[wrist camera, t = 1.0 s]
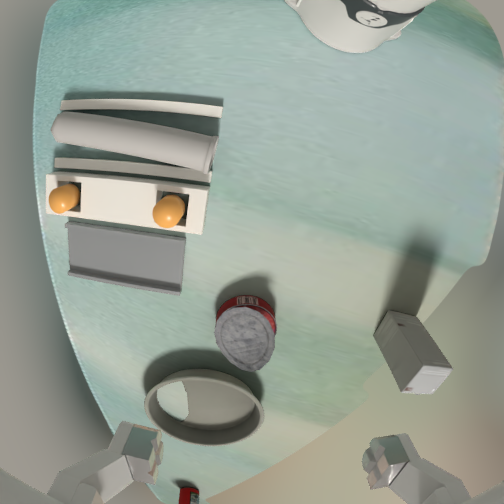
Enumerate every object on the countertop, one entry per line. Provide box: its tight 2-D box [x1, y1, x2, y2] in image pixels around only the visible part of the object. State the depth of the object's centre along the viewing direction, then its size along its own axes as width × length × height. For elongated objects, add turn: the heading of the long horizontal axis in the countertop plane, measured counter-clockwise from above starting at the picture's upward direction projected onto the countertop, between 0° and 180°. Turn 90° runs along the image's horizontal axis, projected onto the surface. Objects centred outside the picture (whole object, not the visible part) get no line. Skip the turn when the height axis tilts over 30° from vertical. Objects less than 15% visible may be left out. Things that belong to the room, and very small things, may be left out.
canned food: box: [214, 295, 277, 372], centre depth 46 cm, size 11×10×10 cm
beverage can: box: [179, 487, 199, 504], centre depth 70 cm, size 7×7×12 cm
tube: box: [51, 111, 219, 174], centre depth 35 cm, size 5×5×25 cm
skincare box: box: [373, 311, 453, 395], centre depth 44 cm, size 8×7×16 cm
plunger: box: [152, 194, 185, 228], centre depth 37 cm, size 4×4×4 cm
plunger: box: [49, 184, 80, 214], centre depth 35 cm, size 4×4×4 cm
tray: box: [65, 221, 186, 296], centre depth 43 cm, size 9×20×2 cm, turn 80°
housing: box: [46, 99, 223, 235], centre depth 37 cm, size 17×25×4 cm
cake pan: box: [144, 369, 264, 446], centre depth 55 cm, size 25×25×4 cm
